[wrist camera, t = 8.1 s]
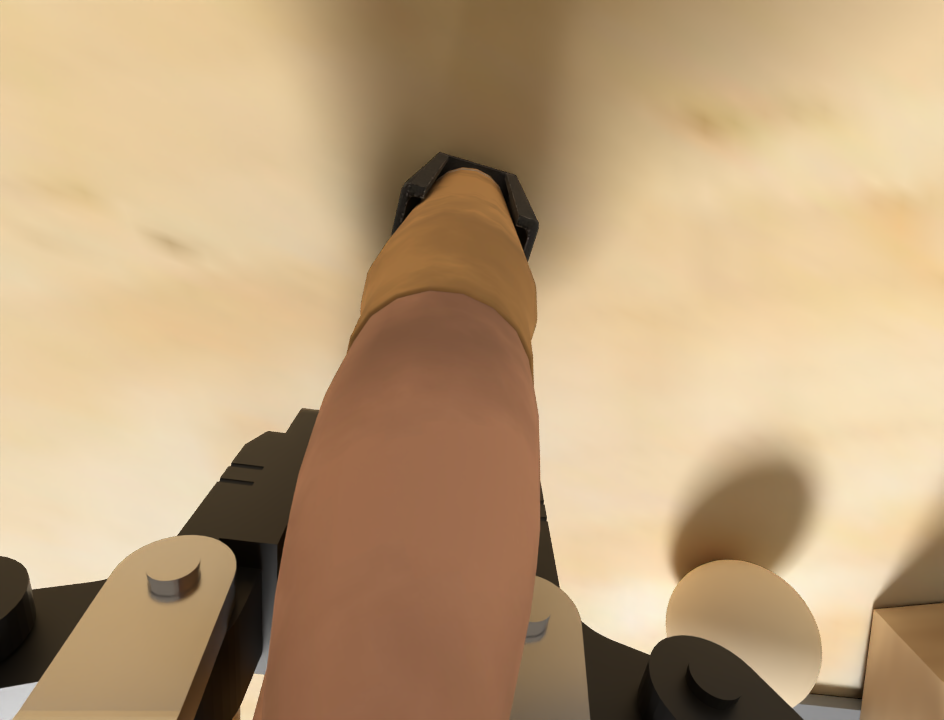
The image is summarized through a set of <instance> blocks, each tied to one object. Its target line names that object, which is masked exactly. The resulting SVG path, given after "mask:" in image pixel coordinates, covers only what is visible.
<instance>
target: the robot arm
mask: <svg viewBox="0 0 944 720" xmlns="http://www.w3.org/2000/svg"><path fill="white" fill-rule="evenodd" d="M318 413H319V410H313V409H306V408H302V409H301V410H300V411H299V413H298V415H297V416H296V418H295V419H294V421H293V422H292V424H291V426H290V427H289V429H288V430H287V432H286V433H280V432H271V431H267V432H265V433H264V434H262V435H260V436H259V437H257V438H255V439H254V440H252V441H250V442H249V443H247V444H245V445H244V447H243V448H242V449H241V451H240V452H239V453H238V455H237V456H236V457H235V459H234V460H233V461H232V463H231V466H229V467H228V468H227V469H226V471H225V472H224V473H223V475H222V476H221V477H220V482H217V483H216V484H215V486H214V487H213V488H212V490H211V491H210V492H209V494H208V495H207V496H206V498H205V499H204V500H203V502H202V503H201V504H200V506H199V507H198V508H197V510H196V511H195V512H194V514H193V515H192V516H191V518H190V519H189V520H188V522H187V523H186V524H185V526H184V527H183V528H182V530H181V531H180V533H179V534H178V535H177V536H174V537H170V538H165V539H162V540H159V541H155V542H153V543H150V544H148V545H146V546H143V547H142V548H140V549H138V550H136V551H135V552H133V553H132V554H130V555H129V556H127V557H126V558H125V559H124V560H123V561H122V562H121V563H119V564H118V566H117V567H116V568H115V569H114V571H113V572H112V573H111V575H110V576H109V578H108V579H105V580H101V581H95V582H89V583H81V584H73V585H65V586H57V587H49V588H41V589H34V590H32V589H31V584H30V579H29V575H28V572H27V570H26V568H25V567H24V566H23V565H22V564H21V563H19V562H17V561H16V560H13V559H10V558H7V557H2V556H0V720H240V705H241V703H242V701H243V698H244V696H245V693H246V691H247V689H248V686H249V684H250V681H251V679H252V676H253V674H254V673H255V674H264V675H265V672H266V669H267V662H268V653H269V645H270V636H271V627H272V618H273V609H274V600H275V593H276V587H277V581H278V575H279V570H280V564H281V558H282V553H283V547H284V542H285V537H286V531H287V526H288V521H289V515H290V510H291V506H292V501H293V497H294V492H295V488H296V483H297V479H298V475H299V471H300V468H301V465H302V462H303V459H304V456H305V452H306V449H307V446H308V443H309V440H310V437H311V434H312V431H313V428H314V425H315V422H316V419H317V416H318ZM543 504H544V499H543V494H542V488H541V483H540V536H539V547H538V558H537V569H536V576H535V584H534V591H533V599H532V606H531V614H530V619H529V624H528V629H527V634H526V639H525V644H524V649H523V654H522V659H521V664H520V668H519V673H518V678H517V683H516V688H515V693H514V698H513V703H512V708H511V713H510V718H509V720H804V719H803V718H802V717H801V716H800V715H799V714H798V713H797V712H796V711H795V710H794V709H793V708H792V707H791V706H789V705H788V704H787V703H786V702H785V701H784V700H783V699H782V698H781V697H780V696H779V695H778V694H777V693H776V692H775V691H774V690H773V689H772V688H771V687H770V686H769V685H768V684H767V683H766V682H765V681H764V680H763V679H762V678H761V677H760V676H759V675H758V674H757V673H756V672H755V671H754V670H753V669H752V668H751V667H750V666H748V665H747V664H746V663H745V662H744V661H743V660H742V659H740V658H739V657H738V656H736V655H735V654H734V653H732V652H731V651H729V650H727V649H726V648H724V647H722V646H720V645H718V644H716V643H714V642H712V641H709V640H706V639H703V638H700V637H695V636H688V635H677V636H671V637H668V638H665V639H664V640H662V641H660V642H659V643H658V644H657V645H656V646H655V647H654V649H653V650H652V652H651V655H648V654H646V653H643V652H641V651H638V650H636V649H633V648H630V647H628V646H625V645H623V644H620V643H618V642H615V641H613V640H611V639H608V638H606V637H604V636H602V635H600V634H599V633H597V632H595V631H593V630H592V629H591V628H589V627H588V626H587V625H585V624H584V623H583V622H582V621H581V618H580V615H579V612H578V610H577V608H576V606H575V604H574V603H573V601H572V600H571V599H570V598H569V596H568V595H567V594H566V593H565V592H564V591H562V590H561V589H560V587H559V581H558V576H557V570H556V565H555V560H554V554H553V549H552V543H551V538H550V532H549V527H548V522H547V521H546V520H547V516H546V510H545V505H543Z"/></svg>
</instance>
